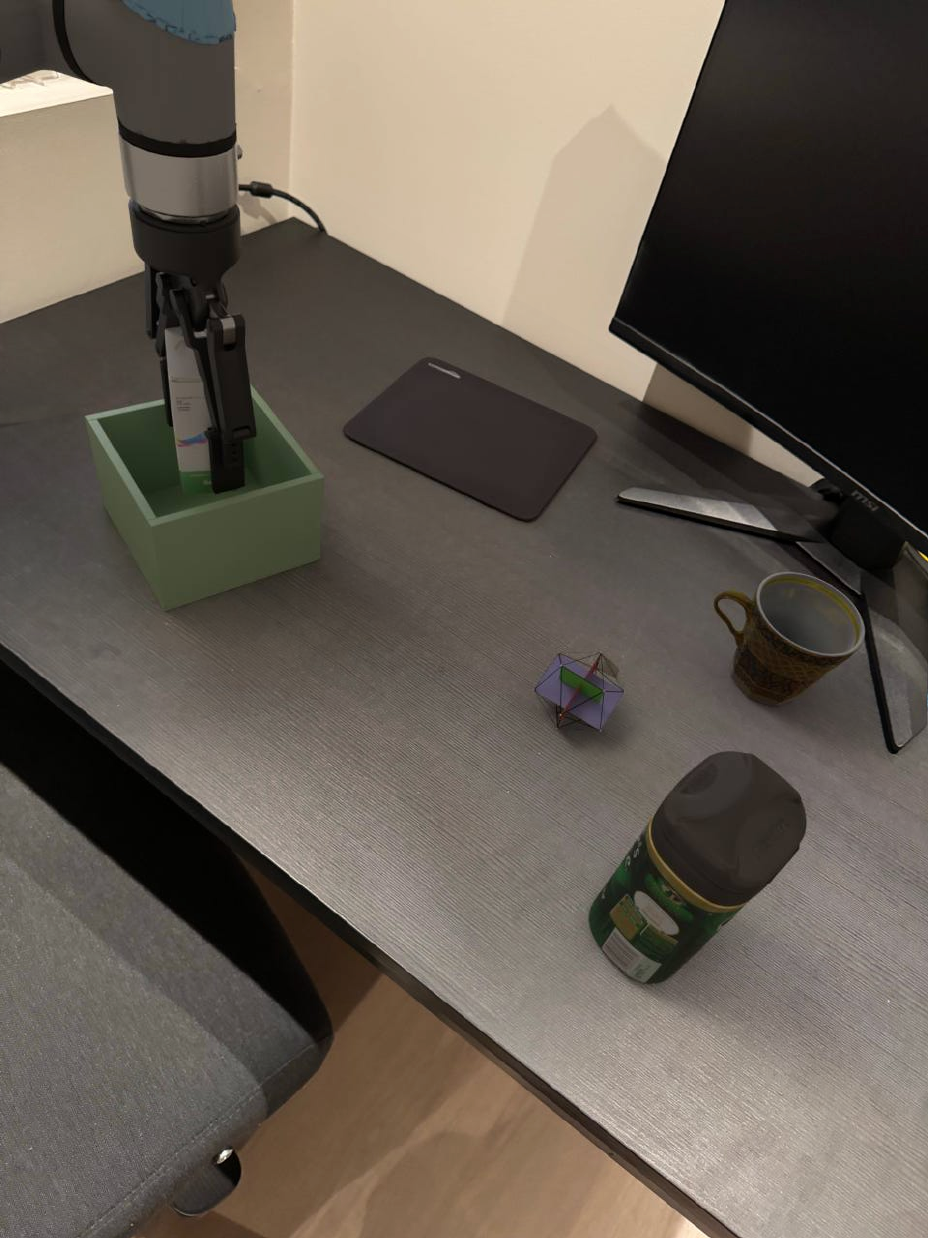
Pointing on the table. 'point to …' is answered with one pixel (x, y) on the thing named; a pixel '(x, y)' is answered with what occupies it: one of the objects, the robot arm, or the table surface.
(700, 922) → the coffee jar
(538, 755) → the table surface
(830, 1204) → the table surface
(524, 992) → the table surface
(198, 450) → the ink box
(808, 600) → the ceramic cup
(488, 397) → the mouse pad
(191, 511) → the open square box
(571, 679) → the geometric puzzle
